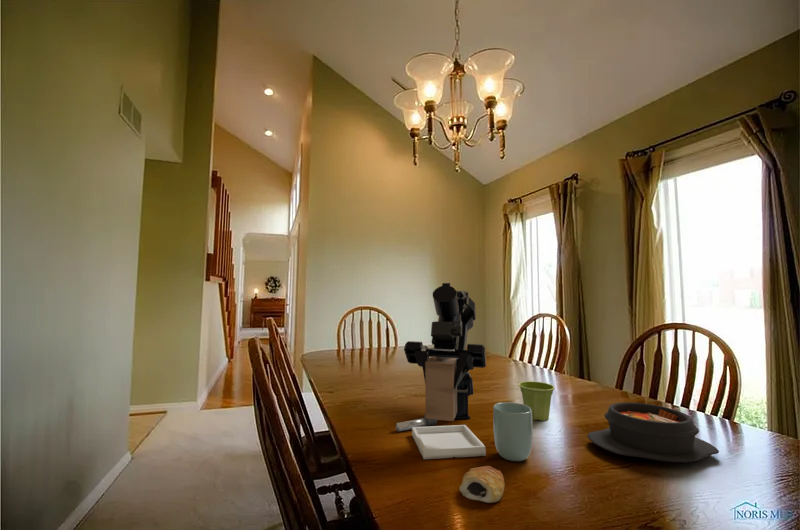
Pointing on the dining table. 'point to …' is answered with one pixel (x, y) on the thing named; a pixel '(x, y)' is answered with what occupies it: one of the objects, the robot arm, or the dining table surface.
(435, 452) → the tray
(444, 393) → the block
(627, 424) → the casserole
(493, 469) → the pastry
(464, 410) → the robot arm
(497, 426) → the cup
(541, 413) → the plant pot
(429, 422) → the flashlight
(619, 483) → the dining table surface
